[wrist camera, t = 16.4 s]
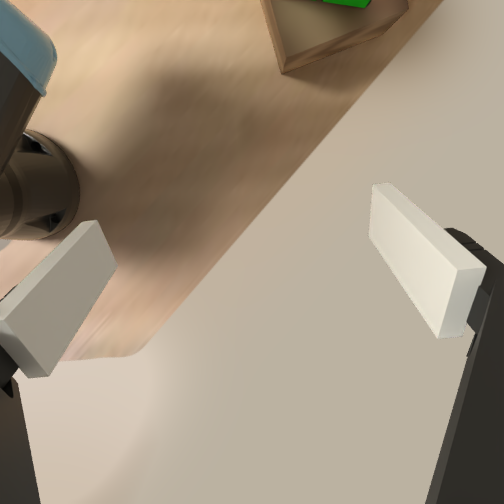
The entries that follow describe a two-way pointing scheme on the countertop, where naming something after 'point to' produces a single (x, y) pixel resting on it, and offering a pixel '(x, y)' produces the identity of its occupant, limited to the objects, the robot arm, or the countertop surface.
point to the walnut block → (324, 27)
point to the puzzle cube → (350, 2)
